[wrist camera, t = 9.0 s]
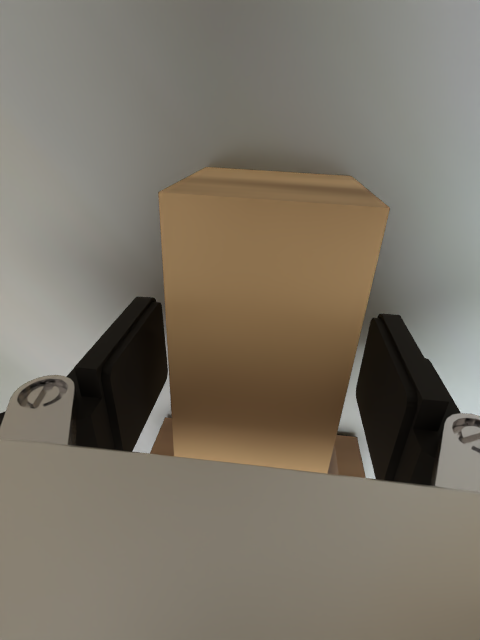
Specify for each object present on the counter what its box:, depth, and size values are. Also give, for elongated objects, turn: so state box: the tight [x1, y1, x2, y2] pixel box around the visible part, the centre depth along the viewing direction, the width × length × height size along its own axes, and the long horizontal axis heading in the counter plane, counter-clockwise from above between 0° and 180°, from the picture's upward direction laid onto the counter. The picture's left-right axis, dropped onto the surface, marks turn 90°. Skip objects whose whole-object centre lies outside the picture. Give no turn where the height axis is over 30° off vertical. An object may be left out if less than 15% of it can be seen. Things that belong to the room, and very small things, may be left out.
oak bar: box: [158, 167, 390, 473], centre depth 12 cm, size 10×4×5 cm, turn 177°
